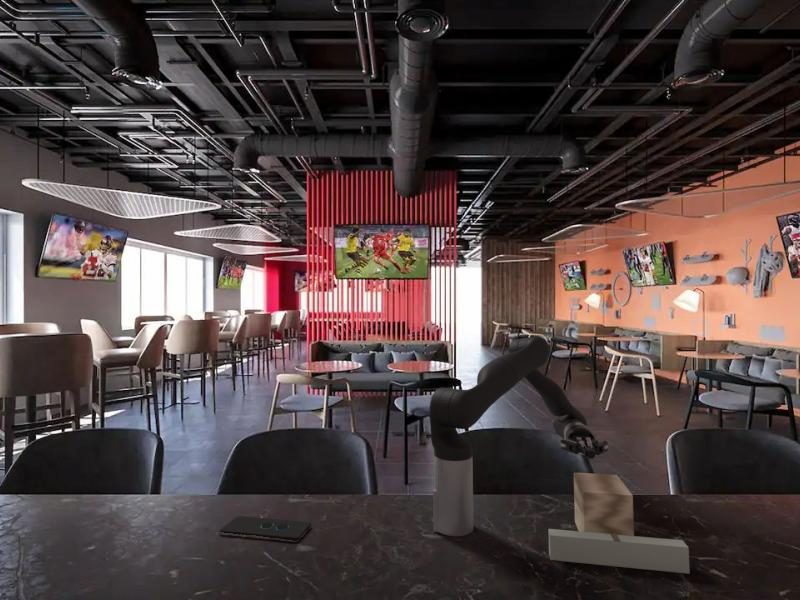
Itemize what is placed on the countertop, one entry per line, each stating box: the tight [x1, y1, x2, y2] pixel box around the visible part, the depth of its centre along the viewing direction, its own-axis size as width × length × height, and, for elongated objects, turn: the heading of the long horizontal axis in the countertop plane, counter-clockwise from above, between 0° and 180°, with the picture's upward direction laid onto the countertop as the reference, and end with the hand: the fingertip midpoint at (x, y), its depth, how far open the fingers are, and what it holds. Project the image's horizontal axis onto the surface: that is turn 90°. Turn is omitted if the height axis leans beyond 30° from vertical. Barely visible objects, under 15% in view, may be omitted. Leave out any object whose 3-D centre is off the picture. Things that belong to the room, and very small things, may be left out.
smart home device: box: [219, 515, 312, 541], centre depth 107 cm, size 8×2×20 cm
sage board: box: [547, 528, 691, 574], centre depth 92 cm, size 26×3×5 cm, turn 78°
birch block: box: [573, 472, 635, 536], centre depth 104 cm, size 10×13×12 cm
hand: (590, 455), depth 116 cm, fingers closed
